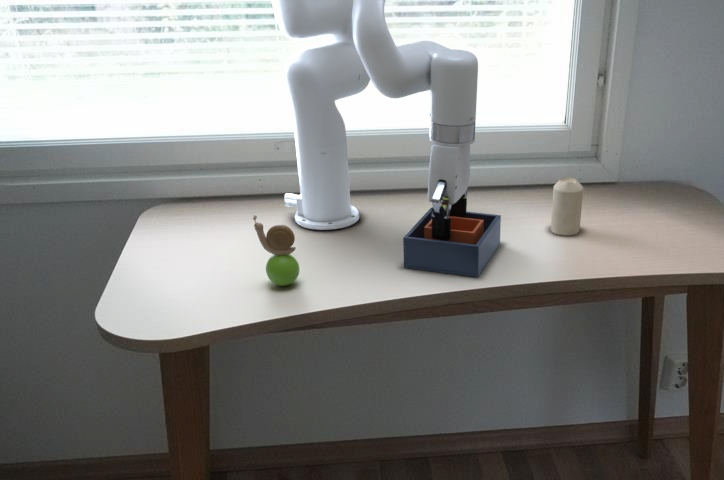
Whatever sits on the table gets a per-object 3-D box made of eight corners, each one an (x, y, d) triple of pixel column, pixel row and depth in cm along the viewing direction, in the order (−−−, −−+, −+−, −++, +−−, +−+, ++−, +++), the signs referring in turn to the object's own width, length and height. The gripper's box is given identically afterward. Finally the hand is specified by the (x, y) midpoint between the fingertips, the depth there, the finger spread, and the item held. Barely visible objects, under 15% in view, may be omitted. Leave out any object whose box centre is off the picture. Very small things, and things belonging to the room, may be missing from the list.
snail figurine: (263, 278, 141) (254, 209, 134) (302, 276, 141) (294, 208, 135) (260, 291, 136) (250, 222, 130) (299, 290, 137) (292, 220, 130)
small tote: (424, 256, 147) (424, 227, 144) (435, 243, 153) (435, 214, 150) (473, 262, 145) (474, 232, 142) (483, 248, 150) (483, 219, 147)
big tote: (403, 267, 145) (402, 237, 142) (431, 236, 157) (430, 207, 154) (478, 277, 141) (478, 246, 138) (499, 244, 154) (501, 215, 151)
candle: (578, 237, 157) (582, 185, 152) (549, 234, 158) (552, 183, 152) (580, 226, 162) (584, 175, 156) (552, 224, 162) (555, 173, 157)
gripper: (446, 115, 145) (443, 208, 155) (413, 143, 131) (413, 244, 141) (487, 120, 144) (482, 214, 153) (459, 149, 130) (455, 250, 139)
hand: (449, 228), depth 147 cm, fingers open, 9 cm apart
